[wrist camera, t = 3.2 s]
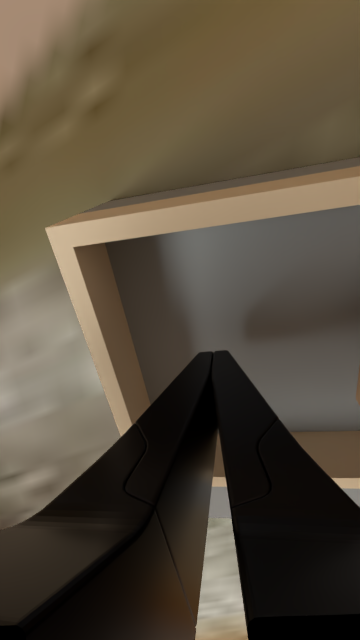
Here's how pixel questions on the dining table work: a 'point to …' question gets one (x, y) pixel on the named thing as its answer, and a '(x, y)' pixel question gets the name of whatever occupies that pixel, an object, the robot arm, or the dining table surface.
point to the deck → (230, 300)
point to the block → (358, 388)
